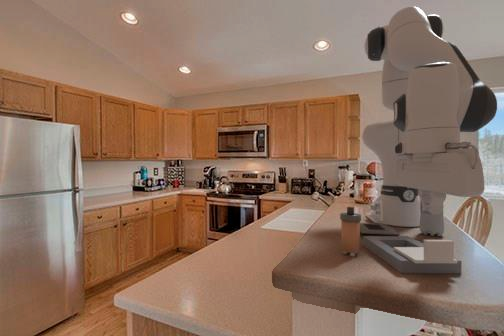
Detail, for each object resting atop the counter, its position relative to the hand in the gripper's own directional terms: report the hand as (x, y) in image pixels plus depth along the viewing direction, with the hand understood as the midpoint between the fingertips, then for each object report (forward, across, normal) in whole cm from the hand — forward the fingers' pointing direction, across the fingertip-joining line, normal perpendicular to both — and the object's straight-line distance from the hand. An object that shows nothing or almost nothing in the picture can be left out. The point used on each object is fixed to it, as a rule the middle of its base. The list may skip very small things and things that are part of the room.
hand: (431, 213), depth 51 cm
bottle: (+13, +28, -20) cm, 37 cm away
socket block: (+12, +8, 0) cm, 15 cm away
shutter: (+9, +1, 0) cm, 10 cm away
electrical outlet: (+13, +30, -3) cm, 33 cm away
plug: (+12, +10, +12) cm, 20 cm away
